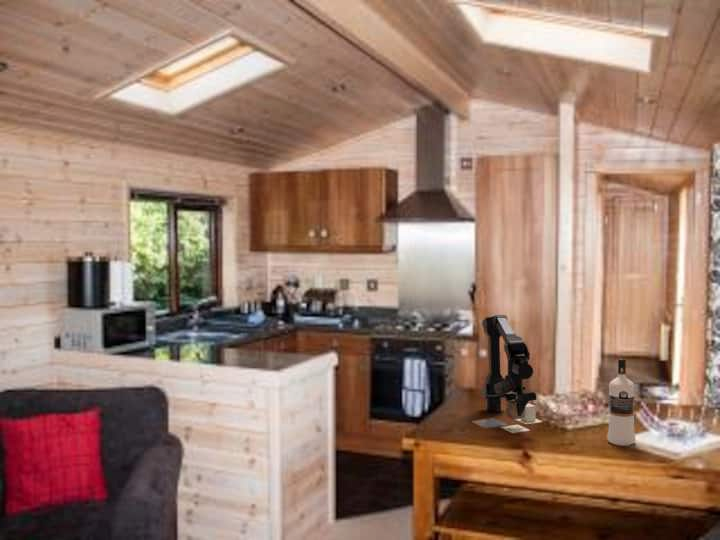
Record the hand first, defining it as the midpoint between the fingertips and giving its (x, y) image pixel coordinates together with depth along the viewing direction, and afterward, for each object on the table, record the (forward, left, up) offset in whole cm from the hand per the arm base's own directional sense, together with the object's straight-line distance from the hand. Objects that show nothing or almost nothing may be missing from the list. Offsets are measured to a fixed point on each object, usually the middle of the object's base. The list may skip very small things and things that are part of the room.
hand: (515, 413), depth 251 cm
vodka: (+28, +25, -6) cm, 38 cm away
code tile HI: (-7, +11, -6) cm, 14 cm away
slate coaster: (-10, -5, -6) cm, 13 cm away
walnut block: (0, 0, -1) cm, 1 cm away
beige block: (-7, +11, -6) cm, 14 cm away
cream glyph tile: (0, 0, -6) cm, 6 cm away
